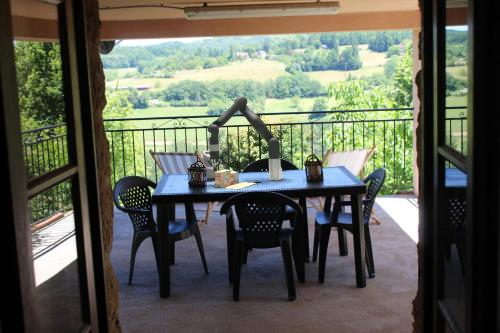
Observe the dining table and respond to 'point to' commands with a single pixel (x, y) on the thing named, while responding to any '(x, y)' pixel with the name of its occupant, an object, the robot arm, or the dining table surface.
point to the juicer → (207, 166)
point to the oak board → (240, 185)
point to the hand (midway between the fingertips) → (215, 171)
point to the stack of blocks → (226, 178)
